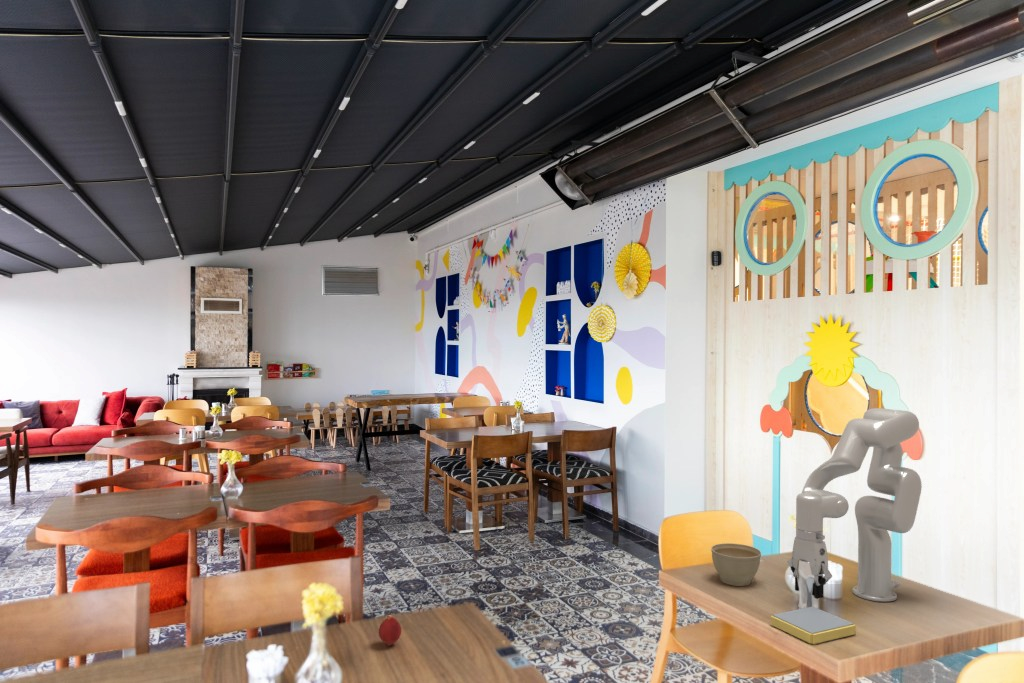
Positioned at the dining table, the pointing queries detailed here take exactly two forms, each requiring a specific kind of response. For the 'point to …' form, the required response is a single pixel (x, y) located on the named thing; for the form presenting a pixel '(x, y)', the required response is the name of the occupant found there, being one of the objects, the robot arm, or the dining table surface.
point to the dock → (813, 625)
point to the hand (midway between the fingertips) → (808, 593)
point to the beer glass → (806, 585)
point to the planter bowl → (736, 563)
